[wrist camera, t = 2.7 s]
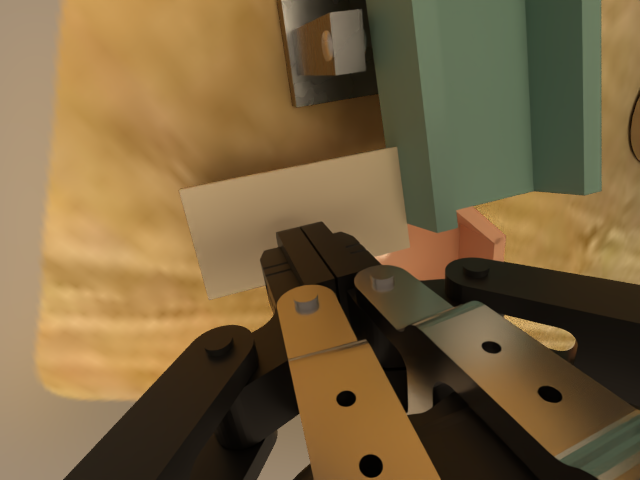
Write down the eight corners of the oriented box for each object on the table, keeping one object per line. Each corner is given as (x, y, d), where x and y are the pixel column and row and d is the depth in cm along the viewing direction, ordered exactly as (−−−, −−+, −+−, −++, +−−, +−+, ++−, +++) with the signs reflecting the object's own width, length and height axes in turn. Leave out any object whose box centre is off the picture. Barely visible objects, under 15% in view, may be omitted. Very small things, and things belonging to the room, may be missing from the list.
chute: (482, -146, 16) (621, -310, 10) (504, 203, 19) (617, 218, 14) (100, -136, 13) (9, -364, 7) (211, 276, 16) (206, 333, 11)
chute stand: (471, -22, 21) (587, -63, 15) (467, 77, 23) (567, 77, 17) (276, -2, 18) (315, -40, 12) (292, 105, 21) (332, 118, 14)
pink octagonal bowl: (467, 167, 25) (511, 182, 22) (461, 308, 30) (495, 339, 27) (302, 204, 23) (320, 227, 19) (324, 350, 28) (343, 390, 24)
